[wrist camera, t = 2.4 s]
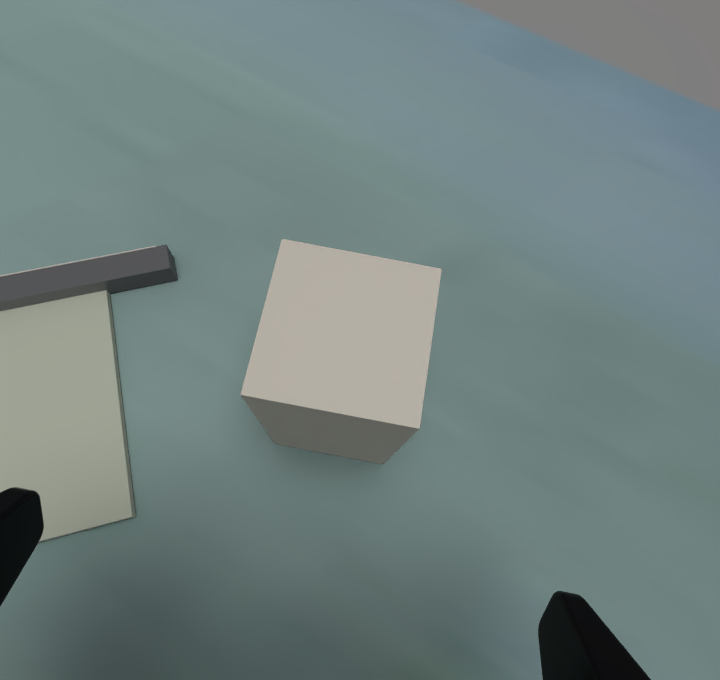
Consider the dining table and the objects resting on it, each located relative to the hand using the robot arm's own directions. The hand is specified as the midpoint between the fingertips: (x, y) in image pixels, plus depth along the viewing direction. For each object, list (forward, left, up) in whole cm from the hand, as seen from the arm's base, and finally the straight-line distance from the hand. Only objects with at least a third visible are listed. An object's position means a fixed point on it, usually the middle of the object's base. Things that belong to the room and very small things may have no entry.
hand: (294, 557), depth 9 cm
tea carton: (+5, +3, -12) cm, 13 cm away
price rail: (-2, +17, -12) cm, 21 cm away
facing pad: (-5, +13, -12) cm, 18 cm away
